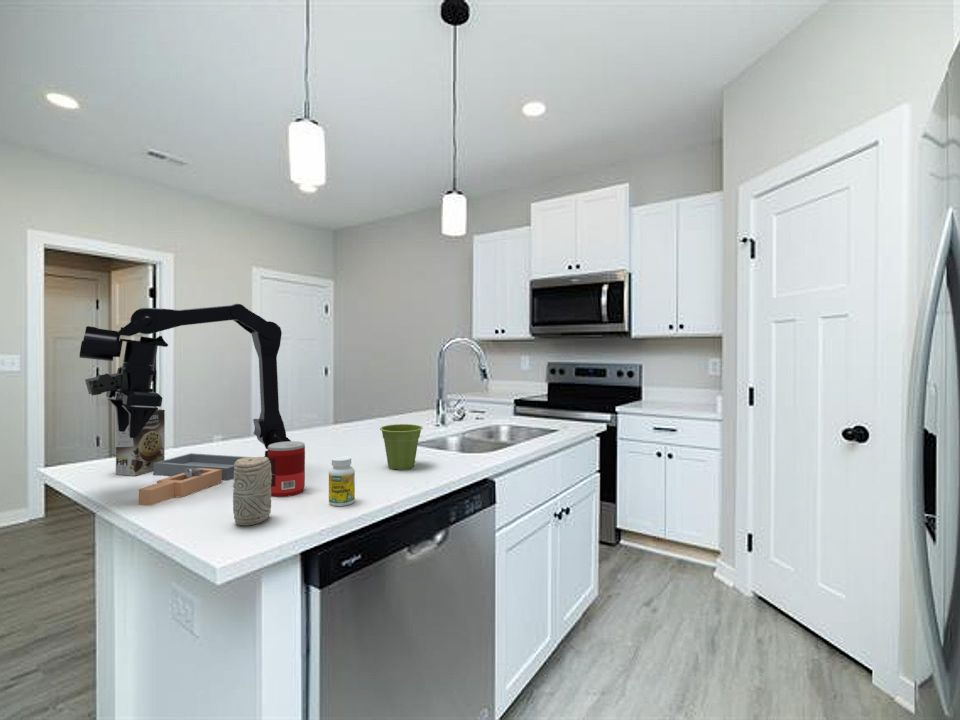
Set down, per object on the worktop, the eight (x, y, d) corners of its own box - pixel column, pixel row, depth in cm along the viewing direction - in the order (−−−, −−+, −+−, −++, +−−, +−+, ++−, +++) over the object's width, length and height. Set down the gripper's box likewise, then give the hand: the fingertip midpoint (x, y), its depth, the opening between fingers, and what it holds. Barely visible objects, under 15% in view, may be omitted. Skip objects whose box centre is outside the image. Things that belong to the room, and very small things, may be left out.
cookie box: (135, 476, 120) (135, 413, 120) (114, 474, 121) (114, 412, 121) (166, 467, 129) (165, 409, 129) (146, 466, 130) (146, 408, 130)
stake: (204, 488, 110) (204, 468, 110) (197, 490, 109) (197, 470, 108) (189, 486, 111) (189, 467, 111) (183, 489, 109) (183, 469, 109)
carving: (225, 528, 86) (225, 463, 86) (245, 514, 93) (245, 454, 93) (259, 529, 86) (260, 463, 86) (277, 514, 93) (277, 454, 93)
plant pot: (370, 468, 131) (370, 427, 130) (400, 460, 140) (401, 422, 140) (401, 475, 124) (401, 432, 124) (431, 466, 134) (431, 426, 133)
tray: (259, 468, 129) (259, 457, 129) (227, 480, 117) (227, 468, 117) (190, 463, 134) (190, 453, 134) (153, 474, 122) (153, 463, 122)
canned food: (311, 489, 111) (312, 442, 111) (287, 499, 103) (287, 449, 103) (285, 485, 113) (285, 440, 113) (259, 495, 106) (260, 446, 106)
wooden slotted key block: (199, 480, 117) (199, 467, 117) (221, 482, 115) (221, 469, 115) (131, 503, 99) (131, 488, 99) (157, 506, 98) (157, 490, 98)
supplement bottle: (355, 498, 104) (355, 455, 104) (354, 506, 99) (354, 460, 99) (329, 499, 103) (329, 456, 103) (327, 507, 98) (327, 461, 98)
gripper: (83, 357, 104) (71, 427, 103) (103, 361, 92) (89, 441, 91) (143, 363, 113) (132, 428, 112) (168, 368, 101) (156, 441, 100)
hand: (126, 434), depth 103 cm, fingers open, 9 cm apart
